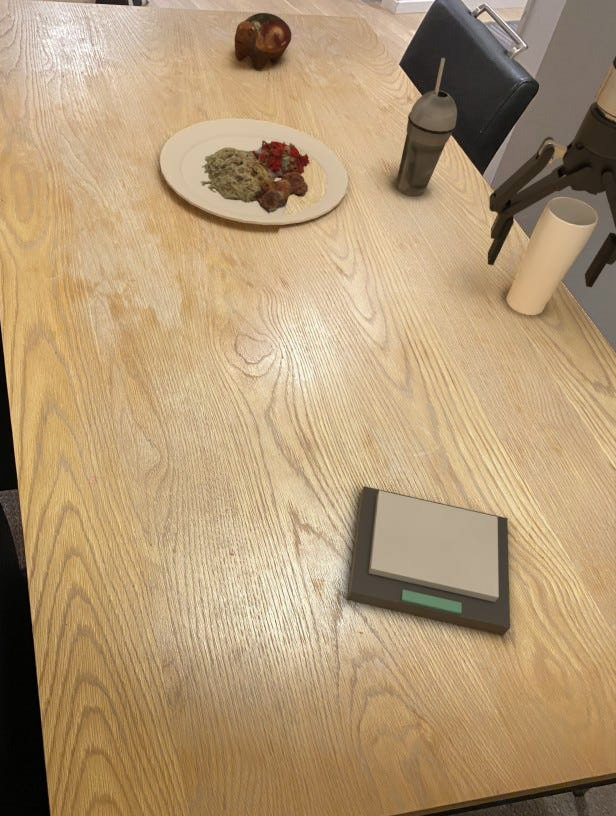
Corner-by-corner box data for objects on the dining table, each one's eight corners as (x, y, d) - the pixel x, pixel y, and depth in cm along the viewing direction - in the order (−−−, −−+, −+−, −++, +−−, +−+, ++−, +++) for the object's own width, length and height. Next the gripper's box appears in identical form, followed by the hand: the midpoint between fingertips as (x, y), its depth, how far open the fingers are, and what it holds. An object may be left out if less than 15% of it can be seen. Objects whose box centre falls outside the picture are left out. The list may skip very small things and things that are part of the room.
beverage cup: (430, 209, 121) (478, 76, 105) (385, 201, 121) (426, 66, 105) (430, 185, 125) (476, 53, 109) (386, 177, 126) (426, 44, 109)
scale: (498, 531, 85) (511, 512, 82) (500, 639, 77) (514, 623, 74) (358, 499, 86) (366, 480, 83) (345, 604, 78) (353, 586, 75)
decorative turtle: (215, 64, 143) (220, 15, 137) (260, 47, 151) (266, -1, 145) (257, 80, 140) (264, 30, 133) (301, 62, 148) (309, 14, 142)
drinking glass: (513, 325, 106) (564, 228, 94) (490, 294, 110) (536, 197, 98) (554, 320, 108) (609, 224, 96) (530, 290, 111) (581, 194, 99)
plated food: (130, 200, 115) (130, 179, 112) (196, 112, 132) (197, 92, 129) (320, 255, 111) (325, 234, 109) (362, 158, 128) (368, 138, 126)
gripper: (518, 103, 85) (449, 266, 102) (739, 151, 84) (632, 307, 102) (516, 73, 89) (450, 234, 107) (727, 119, 88) (626, 273, 106)
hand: (538, 270), depth 104 cm, fingers open, 13 cm apart
